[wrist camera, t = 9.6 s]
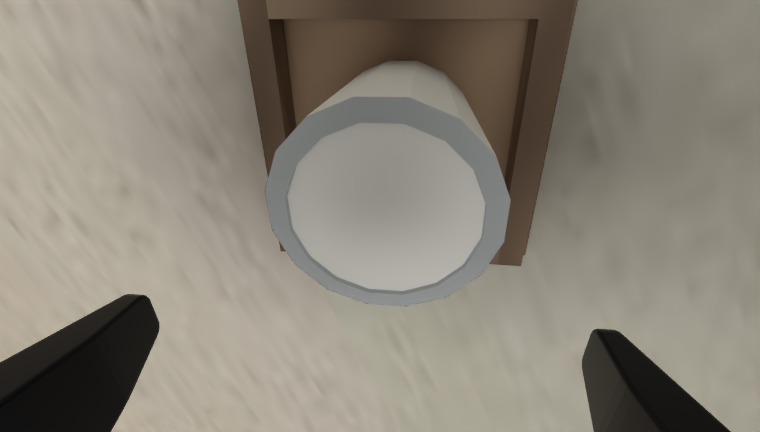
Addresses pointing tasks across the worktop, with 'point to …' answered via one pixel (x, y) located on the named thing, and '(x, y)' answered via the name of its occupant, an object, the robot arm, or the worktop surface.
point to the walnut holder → (432, 47)
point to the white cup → (390, 189)
